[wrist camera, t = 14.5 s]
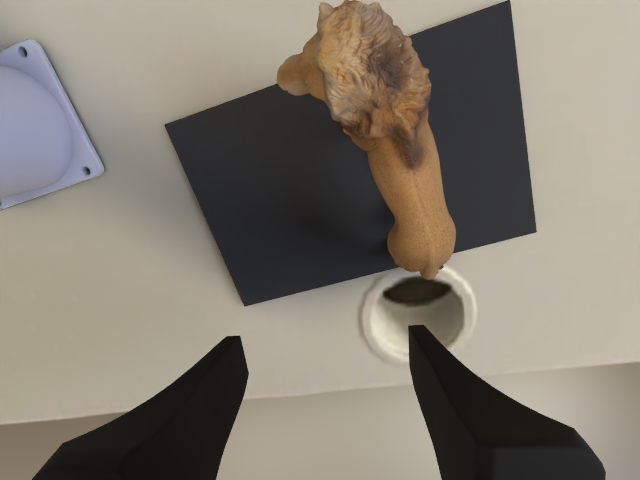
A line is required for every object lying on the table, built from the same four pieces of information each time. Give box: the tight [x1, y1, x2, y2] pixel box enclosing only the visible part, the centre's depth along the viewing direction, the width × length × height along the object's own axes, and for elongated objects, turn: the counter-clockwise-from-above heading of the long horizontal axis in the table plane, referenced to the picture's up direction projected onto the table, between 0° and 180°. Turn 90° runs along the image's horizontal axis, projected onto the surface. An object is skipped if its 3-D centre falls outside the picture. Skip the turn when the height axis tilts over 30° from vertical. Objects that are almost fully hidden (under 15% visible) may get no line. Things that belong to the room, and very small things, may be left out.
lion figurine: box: [277, 0, 456, 279], centre depth 16 cm, size 15×5×9 cm, turn 31°
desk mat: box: [165, 0, 536, 306], centre depth 21 cm, size 20×13×1 cm, turn 108°
